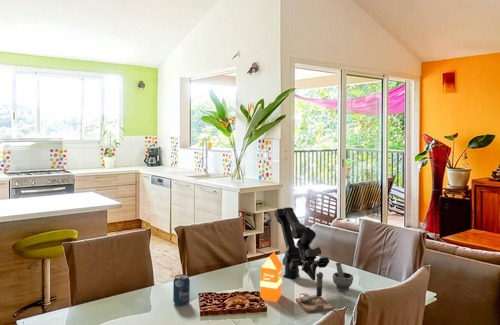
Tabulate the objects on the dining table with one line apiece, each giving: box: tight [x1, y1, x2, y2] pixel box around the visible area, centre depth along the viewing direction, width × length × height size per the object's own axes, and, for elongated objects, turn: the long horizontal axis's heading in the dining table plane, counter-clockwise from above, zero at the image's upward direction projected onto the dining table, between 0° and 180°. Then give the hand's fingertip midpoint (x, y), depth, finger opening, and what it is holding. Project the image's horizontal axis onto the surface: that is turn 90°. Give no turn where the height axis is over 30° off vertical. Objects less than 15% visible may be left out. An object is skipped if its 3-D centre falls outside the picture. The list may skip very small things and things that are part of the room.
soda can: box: [172, 273, 191, 307], centre depth 175 cm, size 7×7×12 cm
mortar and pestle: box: [332, 261, 354, 293], centre depth 196 cm, size 11×9×12 cm
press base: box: [295, 296, 334, 314], centre depth 175 cm, size 13×12×5 cm
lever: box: [299, 271, 324, 303], centre depth 178 cm, size 4×12×12 cm, turn 118°
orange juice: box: [259, 251, 283, 303], centre depth 184 cm, size 8×9×20 cm
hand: (314, 280), depth 185 cm, fingers closed
